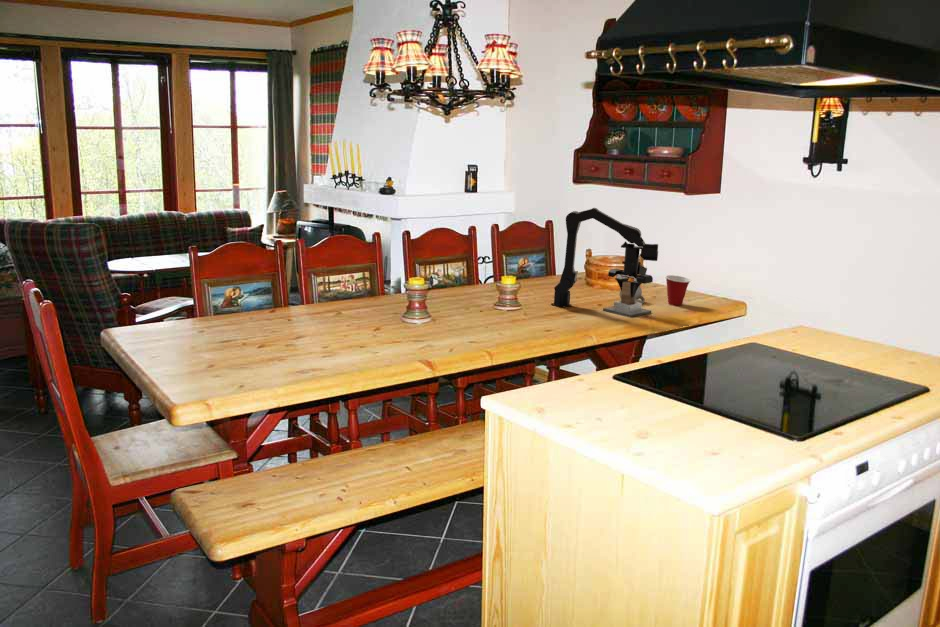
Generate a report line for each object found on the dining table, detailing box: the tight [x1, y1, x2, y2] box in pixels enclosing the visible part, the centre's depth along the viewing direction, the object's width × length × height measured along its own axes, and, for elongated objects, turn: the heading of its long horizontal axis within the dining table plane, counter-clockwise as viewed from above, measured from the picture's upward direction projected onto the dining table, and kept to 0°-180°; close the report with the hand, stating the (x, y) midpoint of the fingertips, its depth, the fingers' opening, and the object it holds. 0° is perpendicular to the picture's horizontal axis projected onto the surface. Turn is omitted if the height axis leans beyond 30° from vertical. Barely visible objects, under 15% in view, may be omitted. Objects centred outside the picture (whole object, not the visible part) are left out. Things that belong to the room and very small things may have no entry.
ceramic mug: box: [618, 285, 646, 305], centre depth 337 cm, size 11×8×8 cm
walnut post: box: [620, 280, 636, 305], centre depth 317 cm, size 4×4×10 cm
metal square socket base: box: [602, 300, 652, 318], centre depth 318 cm, size 14×14×4 cm
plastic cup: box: [665, 275, 692, 307], centre depth 334 cm, size 11×11×12 cm
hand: (628, 296), depth 317 cm, fingers closed on walnut post, 4 cm apart
